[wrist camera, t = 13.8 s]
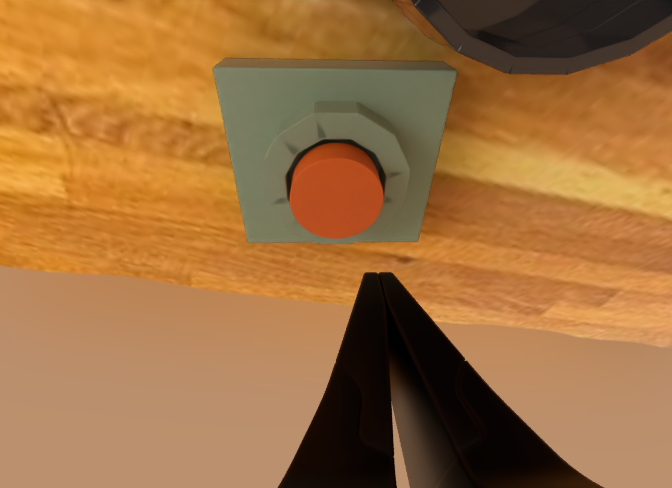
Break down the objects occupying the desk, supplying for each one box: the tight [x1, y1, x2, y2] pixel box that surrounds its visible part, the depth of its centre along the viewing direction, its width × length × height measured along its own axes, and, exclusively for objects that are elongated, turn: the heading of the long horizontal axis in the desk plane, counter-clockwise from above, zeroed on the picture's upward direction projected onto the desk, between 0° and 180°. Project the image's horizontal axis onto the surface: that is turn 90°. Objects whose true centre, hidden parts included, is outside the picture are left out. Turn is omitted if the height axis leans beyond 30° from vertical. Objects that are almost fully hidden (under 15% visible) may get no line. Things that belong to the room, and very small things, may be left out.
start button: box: [290, 143, 384, 239], centre depth 16 cm, size 4×4×2 cm
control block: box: [213, 58, 457, 244], centre depth 18 cm, size 11×10×4 cm
